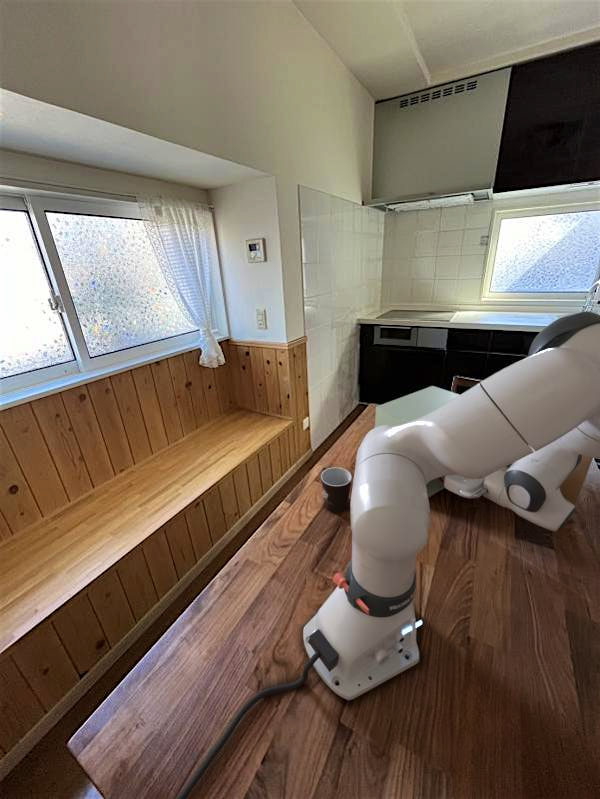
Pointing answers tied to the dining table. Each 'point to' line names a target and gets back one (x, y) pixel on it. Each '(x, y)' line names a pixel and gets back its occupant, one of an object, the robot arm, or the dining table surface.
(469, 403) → the robot arm
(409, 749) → the dining table surface
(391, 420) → the cupboard
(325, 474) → the coffee mug
